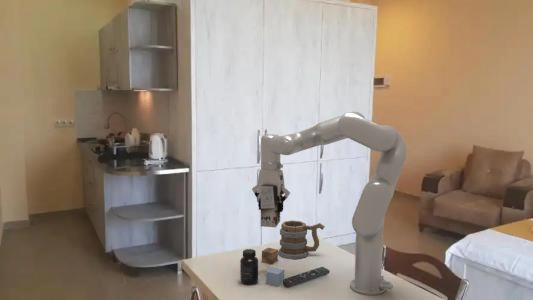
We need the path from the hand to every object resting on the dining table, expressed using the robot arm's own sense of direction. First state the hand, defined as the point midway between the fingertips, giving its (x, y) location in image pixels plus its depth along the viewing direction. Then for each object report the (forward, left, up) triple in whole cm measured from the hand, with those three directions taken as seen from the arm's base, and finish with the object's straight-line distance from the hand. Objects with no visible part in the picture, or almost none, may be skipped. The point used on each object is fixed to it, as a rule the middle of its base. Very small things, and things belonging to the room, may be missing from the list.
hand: (270, 210), depth 172 cm
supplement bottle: (+2, +12, -25) cm, 28 cm away
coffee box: (0, 0, -6) cm, 6 cm away
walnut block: (+6, -10, -25) cm, 28 cm away
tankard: (-2, -24, -25) cm, 35 cm away
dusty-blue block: (-7, +8, -25) cm, 27 cm away
